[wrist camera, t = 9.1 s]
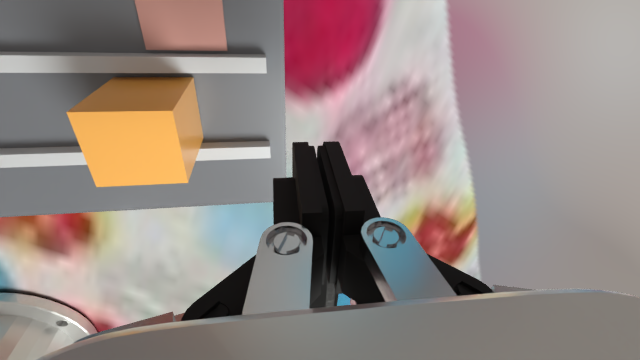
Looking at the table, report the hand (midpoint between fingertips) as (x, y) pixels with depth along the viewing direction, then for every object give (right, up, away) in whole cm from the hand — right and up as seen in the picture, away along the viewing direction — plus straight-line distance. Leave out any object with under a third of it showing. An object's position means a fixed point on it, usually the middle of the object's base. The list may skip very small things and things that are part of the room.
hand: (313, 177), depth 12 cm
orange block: (-9, +4, +6) cm, 11 cm away
